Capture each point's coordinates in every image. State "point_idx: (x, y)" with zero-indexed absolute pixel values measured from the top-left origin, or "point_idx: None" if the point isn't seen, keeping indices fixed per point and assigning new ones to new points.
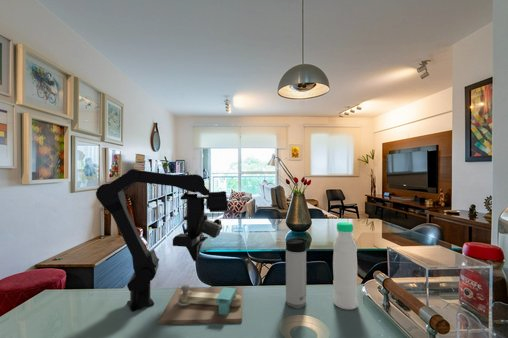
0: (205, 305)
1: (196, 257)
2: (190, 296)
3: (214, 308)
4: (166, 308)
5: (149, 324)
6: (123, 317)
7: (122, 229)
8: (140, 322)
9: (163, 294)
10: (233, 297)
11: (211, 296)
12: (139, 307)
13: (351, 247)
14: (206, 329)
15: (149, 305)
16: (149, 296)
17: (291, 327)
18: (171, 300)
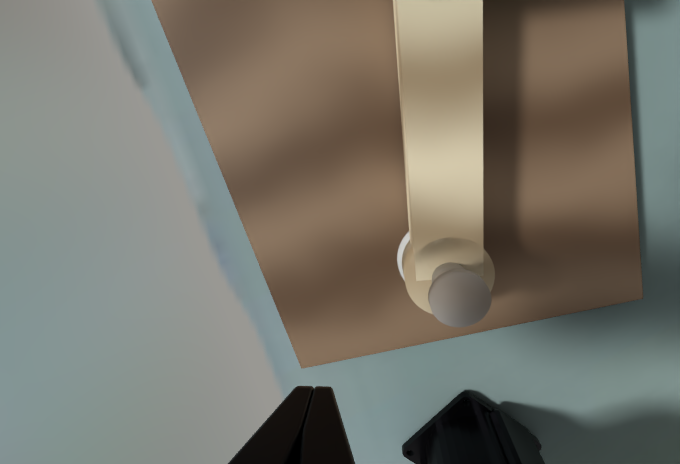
0: None
1: (343, 427)
2: (481, 229)
3: (487, 38)
4: (525, 316)
5: (631, 324)
6: (580, 446)
7: None
8: (616, 367)
9: (358, 398)
10: None
11: (459, 75)
12: (528, 432)
13: None
14: (677, 3)
15: (485, 404)
16: (473, 442)
17: None
18: (439, 332)
